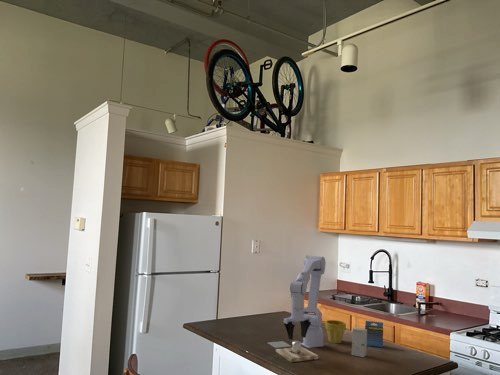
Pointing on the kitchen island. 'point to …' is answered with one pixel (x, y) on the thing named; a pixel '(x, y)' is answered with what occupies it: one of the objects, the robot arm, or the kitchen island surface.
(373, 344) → the label tape box
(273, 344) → the pad
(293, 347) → the steel peg
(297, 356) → the hole plate
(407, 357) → the kitchen island surface
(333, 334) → the plant pot
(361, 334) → the skincare box
